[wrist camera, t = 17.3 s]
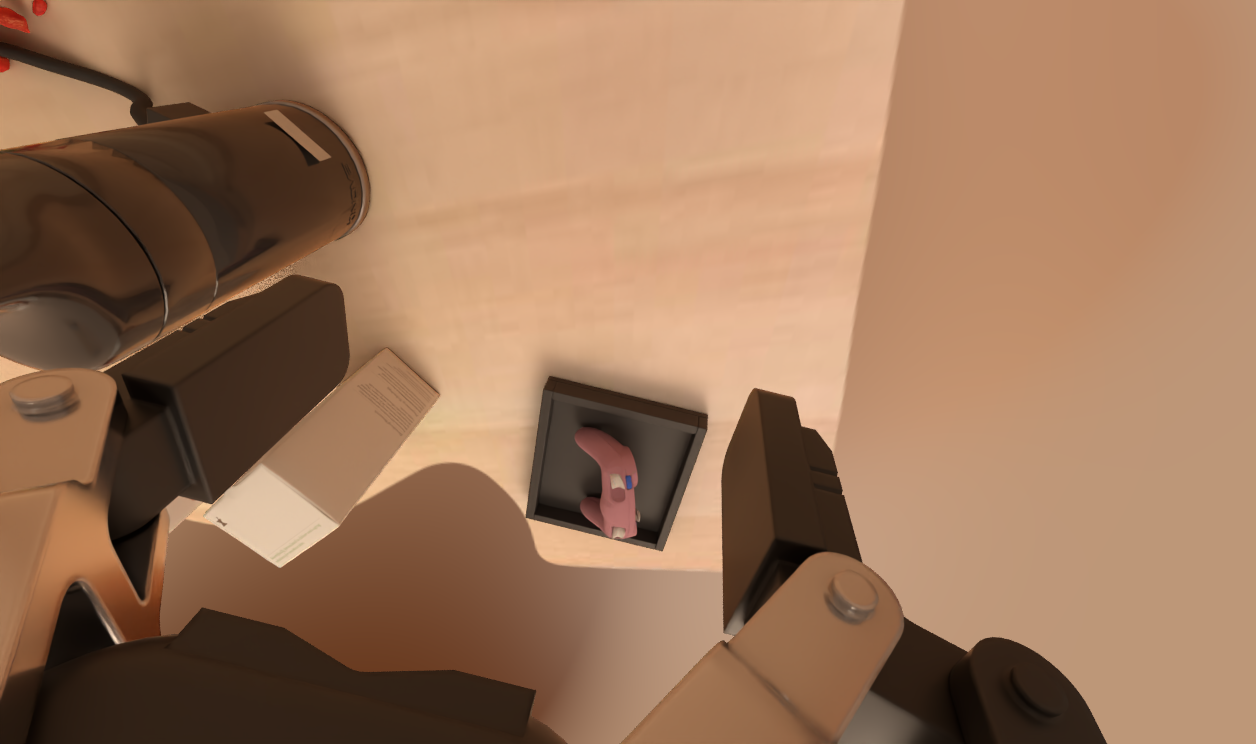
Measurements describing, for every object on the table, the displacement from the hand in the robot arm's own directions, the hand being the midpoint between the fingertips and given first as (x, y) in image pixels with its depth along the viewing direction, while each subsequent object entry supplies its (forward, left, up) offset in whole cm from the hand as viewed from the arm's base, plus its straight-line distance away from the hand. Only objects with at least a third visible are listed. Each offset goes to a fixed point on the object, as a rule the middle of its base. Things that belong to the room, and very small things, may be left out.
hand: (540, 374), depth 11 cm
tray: (+2, -28, -28) cm, 40 cm away
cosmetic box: (-19, -26, -28) cm, 43 cm away
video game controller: (+2, -28, -28) cm, 40 cm away
